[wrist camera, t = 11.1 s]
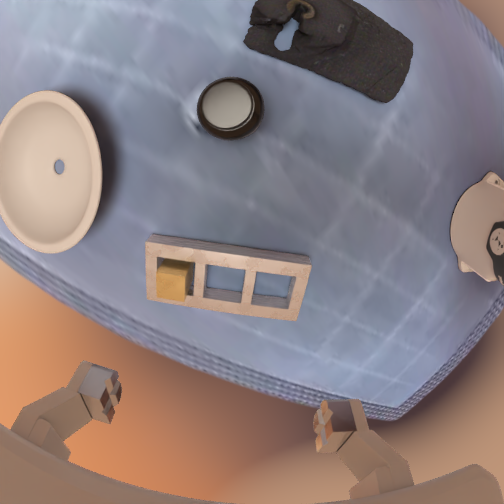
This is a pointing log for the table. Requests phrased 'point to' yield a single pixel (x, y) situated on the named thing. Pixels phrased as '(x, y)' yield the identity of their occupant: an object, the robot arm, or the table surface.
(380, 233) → the table surface
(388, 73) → the dark slate chunk
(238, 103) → the supplement bottle
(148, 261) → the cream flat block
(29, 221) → the soup bowl
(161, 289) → the golden yellow block
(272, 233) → the table surface
